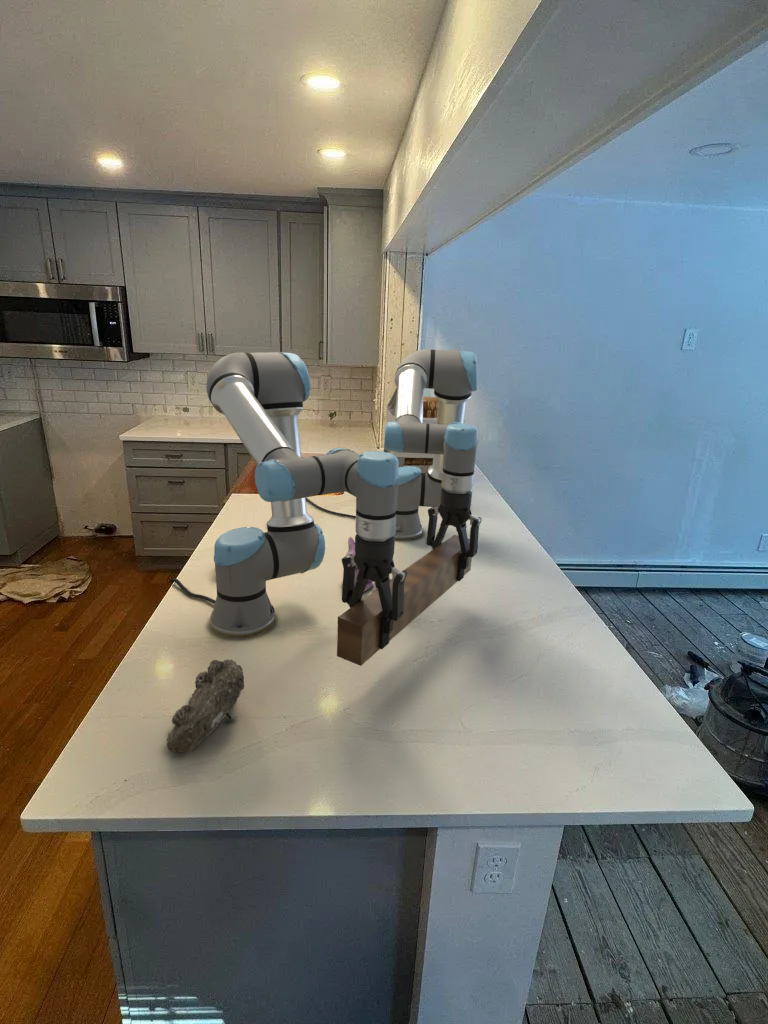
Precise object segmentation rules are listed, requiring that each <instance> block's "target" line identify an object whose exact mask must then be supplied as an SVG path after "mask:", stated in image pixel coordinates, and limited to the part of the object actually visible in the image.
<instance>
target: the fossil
mask: <svg viewBox="0 0 768 1024" xmlns="http://www.w3.org/2000/svg"><path fill="white" fill-rule="evenodd" d="M243 670H244V669H243V667H242V665H240V664H237V662H236V661H235V660H234V659H232V658H231V659H227V658H226V659H224V660H223V661H222V660H217V659H212V660H211V661H210V663H209V665H208V666H207V671H201V672H199V673H198V674H197V675H196V676H195V680H194V684H195V685H194V687H195V689H194V690H193V693H192V694H191V697H190V698H189V700H188V704H184V705H182V706H181V707H180V709H177V710H176V711H175V713H174V715H173V716H172V718H171V723H172V724H173V727H172V730H171V731H170V732H168V734H167V738H166V741H167V742H166V745H167V749H168V750H169V751H173V752H174V753H176V754H178V753H182V752H188V751H189V752H192V751H193V750H195V748H196V747H197V746H199V744H200V743H201V742H203V741H204V740H205V739H206V738H207V737H208V736H209V735H210V734H211V733H212V732H214V730H215V729H217V727H218V726H219V724H220V722H221V721H222V720H223V719H224V718H225V716H226V717H227V719H229V720H233V717H232V715H230V714H229V710H230V709H231V708H234V706H235V704H236V703H237V702H238V699H239V697H240V695H241V693H242V691H243V690H245V689H244V688H245V675H244V671H243Z"/></svg>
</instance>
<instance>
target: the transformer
mask: <svg viewBox="0 0 768 1024" xmlns="http://www.w3.org/2000/svg"><path fill="white" fill-rule="evenodd" d="M396 396H397V387H396V388H395V390H394V392H393V394H392V395H391V398H390V400H389V402H388V404H387V405H386V413H385V414H386V415H385V424H386V423H388V422H394V416H395V406H396ZM437 409H438V398H437V397H436V396H423V421H422V423H425V424H436V421H437ZM463 424H465V419H464V420H463ZM383 452H385V453H391V454H393V455H395V456H396V457H397V459H398V462H399V465H398V468H399V467H405V466H406V467H407V466H412V467H417V466H418V467H430V466H431V465H433V456H434V454H425V453H403V452H402V453H398V452H393V451H387V450H386V449H385V447H384V446H383Z"/></svg>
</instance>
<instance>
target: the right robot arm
mask: <svg viewBox="0 0 768 1024" xmlns="http://www.w3.org/2000/svg"><path fill="white" fill-rule="evenodd" d="M478 378H479V377H478V361H477V356H476V354H475V353H474V352H473V351H469V350H468V351H467V350H462V349H457V350H456V349H432V348H423V349H419V350H416V351H414V352H412V353H410V354H408V356H405V358H404V359H403V360H402V361H401V362H400V363H399V365H398V366H397V368H396V369H395V373H394V384H395V387H396V388H397V396H396V406H395V416H394V422H388V423H386V422H385V425H384V440H383V441H384V442H383V448H384V447H385V449H386V450H387V451H393V452H398V453H402V452H403V453H425V454H434V456H433V465H430V466H428V468H427V472H422V469H421V468H420V467H419V466H418V467H417V466H407V465H406V466H404V467H399V468H398V474H399V482H398V495H397V509H396V530H395V535H394V537H395V541H410V540H415V539H418V538H420V537H421V536H422V535H423V525H422V524H421V518H420V515H419V507H425V508H426V507H427V508H428V509H427V514H428V524H427V531H426V540H425V541H426V542H425V545H426V546H427V547H428V546H429V547H431V548H432V550H433V549H435V548H436V547H438V546H439V545H440V544H442V543H443V542H444V539H445V536H446V534H447V531H448V528H449V526H452V527H454V528H455V530H456V532H457V535H458V536H459V542H460V547H461V553H462V555H461V556H460V557H459V561H458V571H457V582H460V581H462V580H463V579H464V577H465V575H464V570H465V569H466V568H467V567H468V565H469V557H472V558H474V557H476V555H477V554H478V550H479V535H480V533H479V532H480V525H481V523H482V521H483V519H482V517H480V516H475V515H473V513H472V510H471V507H472V498H473V492H472V490H473V488H474V480H475V479H474V478H475V465H476V457H477V451H478V450H477V448H478V444H479V430H478V428H477V427H476V425H472V424H468V423H464V424H463V420H465V411H466V402H467V401H468V400H470V399H471V398H472V392H476V391H477V390H478ZM424 389H429V390H433V395H434V397H437V398H438V409H437V421H436V424H425V423H422V421H423V397H424ZM306 502H308V503H309V504H311V505H312V506H313V507H314V508H317V509H319V510H321V511H323V512H325V513H329V514H332V515H337V516H340V517H341V516H342V517H347V518H352V519H356V515H353V514H348V513H342V512H336V511H332V510H331V509H330V510H329V509H326V508H324V507H321V506H319V505H317V504H316V503H314V502H313V501H312V500H310V499H309V498H308V497H306ZM439 516H440V517H441V519H442V520H441V522H440V524H439V529H438V532H437V525H438V517H439ZM468 521H469V525H470V529H469V535H468V531H467V527H468V526H467V522H468ZM436 532H437V533H436ZM468 536H469V537H468ZM468 538H469V539H470V546H469V542H468Z"/></svg>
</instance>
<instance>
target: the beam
mask: <svg viewBox="0 0 768 1024" xmlns="http://www.w3.org/2000/svg"><path fill="white" fill-rule="evenodd" d="M468 542H469V546H470V537H468ZM461 555H462V553H461V547H460V542H459V536H458V534H453V535H451V536H450V537H449V538H447V539H446V540H444V541H442V543H441V544H440V545H439V546H438V547H436V548H435V549H433V548H432V550H430V551H429V552H427V553H426V554H424V555H423V556H421V558H419V559H418V560H416V561H415V562H413V563H412V564H410V565H409V566H408V567H406V568H405V569H404V570H405V571H406V572H407V576H406V579H405V581H404V614H403V616H401V617H400V618H399V619H398V620H397V621H394V627H393V631H392V632H391V633H390V635H389V642H391V640H393V638H395V637H396V636H397V635H398V634H400V632H402V631H403V630H404V629H405V628H406V627H408V626H409V625H410V624H411V623H412V622H413V621H414V620H415V619H416V618H417V617H419V616H420V615H421V614H422V613H423V612H425V611H426V610H427V609H428V608H430V606H431V605H433V604H434V603H435V602H436V601H437V600H438V599H439V598H440V597H442V596H443V595H444V594H445V593H446V592H447V591H448V590H450V589H451V588H452V587H453V586H454V585H456V583H458V581H457V571H458V561H459V557H460V556H461ZM472 561H473V557H469V565H468V567H467V568H466V569H465V570H464V576H465V575H467V574H468V573H469V572H470V571H471V570H472ZM389 585H390V590H391V594H392V586H393V581H392V578H390V583H389ZM383 617H384V616H383V611H382V607H381V602H380V597H379V593H378V589H377V588H376V589H375V590H374V591H372V592H371V593H369V594H368V595H366V596H365V597H364V598H362V599H361V601H360V602H358V603H357V604H355V605H354V606H353V607H351V608H350V607H349V609H347V610H345V611H344V612H343V613H341V614H340V615H338V616H337V633H336V634H337V635H336V657H337V658H340V659H343V660H345V661H348V662H350V663H352V664H355V665H357V666H360V667H362V666H363V665H364V664H365V663H366V662H367V661H368V660H370V659H371V658H372V657H373V656H374V655H376V654H377V653H378V652H379V651H380V650H381V649H380V648H379V634H380V619H381V618H383Z"/></svg>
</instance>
